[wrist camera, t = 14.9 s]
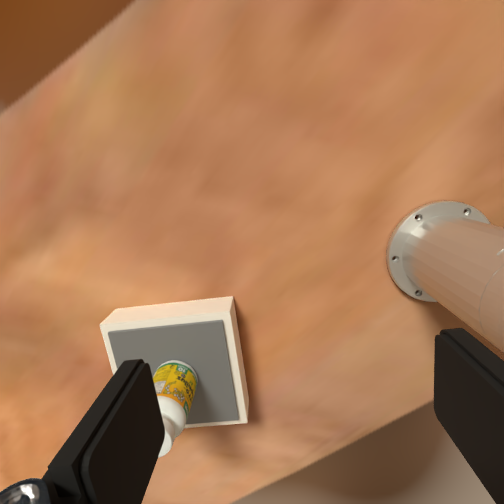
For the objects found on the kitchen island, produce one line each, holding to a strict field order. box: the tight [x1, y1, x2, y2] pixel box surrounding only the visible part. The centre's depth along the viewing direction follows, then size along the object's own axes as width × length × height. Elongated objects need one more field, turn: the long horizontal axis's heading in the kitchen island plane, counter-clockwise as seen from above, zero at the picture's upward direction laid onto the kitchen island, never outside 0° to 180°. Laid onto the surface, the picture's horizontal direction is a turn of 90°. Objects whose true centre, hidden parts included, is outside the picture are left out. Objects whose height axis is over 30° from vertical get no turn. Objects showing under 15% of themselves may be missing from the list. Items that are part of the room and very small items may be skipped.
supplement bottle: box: [153, 360, 198, 457], centre depth 35 cm, size 5×5×10 cm
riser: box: [100, 296, 249, 428], centre depth 42 cm, size 16×16×5 cm
